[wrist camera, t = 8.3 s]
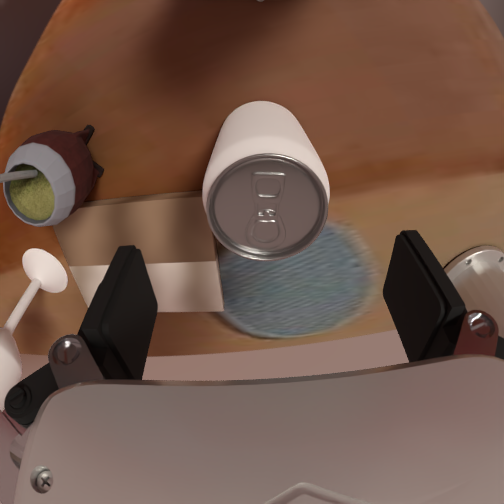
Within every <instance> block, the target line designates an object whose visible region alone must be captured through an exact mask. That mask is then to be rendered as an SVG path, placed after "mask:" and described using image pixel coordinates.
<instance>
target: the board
mask: <svg viewBox="0 0 504 504" xmlns="http://www.w3.org/2000/svg"><path fill="white" fill-rule="evenodd" d="M52 226H53V228H54V231H55V234H56V236H57V239H58V241H59V244H60V246H61V249H62V251H63V253H64V256H65V258H66V261H67V263H68V265H69V267H70V270H71V272H72V274H73V276H74V279H75V281H76V283H77V285H78V287H79V289H80V292H81V294H82V296H83V298H84V300H85V302H86V304H87V306H88V308H89V306H90V303H91V301H92V299H93V297H94V294H95V292H96V290H97V288H98V286H99V284H100V283H101V282H102V280H103V278H104V276H105V274H106V271H107V269H108V267H109V265H110V263H111V261H112V259H113V257H114V255H115V253H116V251H117V249H118V247H119V246H126V245H135V247H136V249H140V250H141V252H142V256H143V259H144V262H145V265H146V269H147V272H148V275H149V278H150V281H151V284H152V287H153V290H154V293H155V296H156V299H157V303H158V311H157V312H212V311H224V297H223V290H222V283H221V277H220V270H219V263H218V256H217V249H216V242H215V235H214V234H213V232H212V230H211V228H210V226H209V223H208V219H207V214H206V211H205V209H204V205H203V198H202V191H189V192H176V193H165V194H153V195H143V196H133V197H123V198H114V199H106V200H97V201H89V202H83V203H82V205H81V206H80V207H79V209H77V210H76V211H75V212H74V213H73V214H71V215H70V216H68V217H67V218H66V219H64V220H63V221H61V222H60V223H58V224H57V225H52Z"/></svg>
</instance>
